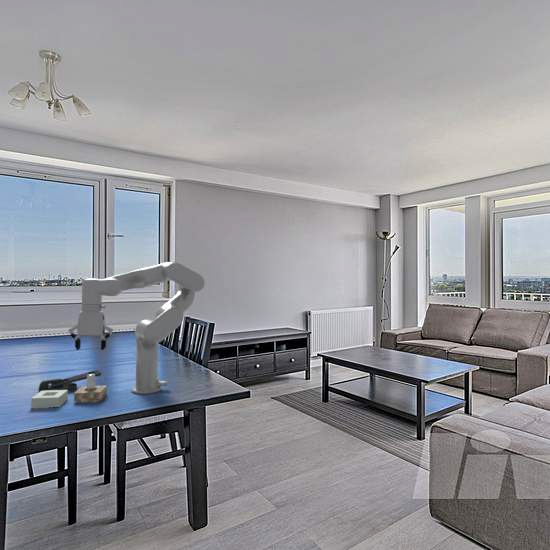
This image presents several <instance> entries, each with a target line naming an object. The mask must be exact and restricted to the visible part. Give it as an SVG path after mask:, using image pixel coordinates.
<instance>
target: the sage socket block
mask: <svg viewBox="0 0 550 550" xmlns="http://www.w3.org/2000/svg"><path fill="white" fill-rule="evenodd" d="M68 398H69V392H68V390H47V391H41V392H39V391H38V392H37V393H36V394H35V395H33V397H31V398H30V409H31V408H33V409H53V408H52V407H59V408H60V407H61V406H63V404H64V403H66V402H67V401H68V400H69V399H68ZM67 399H68V400H67ZM66 400H67V401H66ZM65 401H66V402H65ZM49 407H51V408H49Z"/></svg>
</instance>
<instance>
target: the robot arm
mask: <svg viewBox="0 0 550 550" xmlns="http://www.w3.org/2000/svg"><path fill="white" fill-rule="evenodd" d="M169 281H170V282H171V281H172V282H174V283H176V284H178V291H177V293H176V294H175V295H174V296H173V297H172V298H171V299H170V300H168V301H167V302H166V303H164V304H163V305H162V306H160V307H159V308H158V309H157V310H156V312H155V319H153V320H152V319H143V320H141V321H139V322H138V323H137V325H136V326H135V329H134V338H135V385H134V386H133V387H132V388H131V392H132V393H134V394H139V395H148V394H155V393H157V392H160V391H161V390H162V387H168V386H169V381H166V380H160V378H159V377H158V376H159V343H161V342H163V340H165V339H166V338H167V337H168V336H169V335H171V334H172V333H173V332H174V331H175V330H176V329H178V327H180V326H181V324H182V323H183V321H184V317H185V316H184V313H185V312H186V311H187V310H189V308H190V307H191V306H192V305H193V302H194V299H195V294H196V293H198V292H200V291H202V290H203V289H204V288H205V285H206V284H205V279H204V277H203V276H202V275H201V274H200V273H197V272H196V271H194V270H192V269H191V268H189V267H187V266H185V265H183V264H181V263H179V262H178V261H167V262H161V263H160V264H155V265H151V266H148V267H143V268H140V269H136V270H132V271H130V272H126V273H125V272H124V273H122V274H121V273H120V274H117V275H113V276H110V277H106V278H104V279H100V278H84V279H83V280H82V283H81V311H79V313H78V320H77V325H75V326H74V327H71V328H69V329H68V333H69V334H70V336H71V338H72V339H73V340H74V348H75V351H79V350H80V349H81V344H82V343H81V342H82V341H81V338H82V337H98V336H99V337H100V338H101V341H100V343H101V344H100V350H101V351H103V350H105V349H106V348H107V339H108V338H110V337H111V335H112V333H113V332H114V328H111V327H110V326H107V325H106V320H105V313H104V311H102V310H104V309H105V308H106V306H105V305H103V304H102V297H103V296H105V297H107V296H108V297H116V296H118V295H120V294H121V293H122V292H124V291H128V290H133V289H144V288H149V287H152V286H155V285H159V284H162V283H166V282H169ZM74 331H76V333H75V332H74ZM106 331H107V334H105V333H106Z"/></svg>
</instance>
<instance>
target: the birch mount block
mask: <svg viewBox="0 0 550 550" xmlns="http://www.w3.org/2000/svg"><path fill="white" fill-rule="evenodd" d="M73 395H74V396H73V403H74V402H90V403H101V402H102V401H103V399H105V397H106V396H107V385H95V391H87V385H81V386H80V387H79V388H77V389H76V390H75V391H74V393H73ZM105 395H106V396H105ZM104 396H105V397H104ZM101 400H102V401H101ZM100 401H101V402H100Z"/></svg>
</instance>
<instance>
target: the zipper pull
mask: <svg viewBox="0 0 550 550" xmlns="http://www.w3.org/2000/svg"><path fill="white" fill-rule="evenodd" d="M88 374H95V378H96V377H99V376H102V372H101V370H98V369H94V370H92V371H87V372H85V373H81V374H76V375H74V376H70V377H67V378H64V379H62V378H54V379H53V378H52V379H47V380H42V381H41V382H40V383H39V386H38V393H39V392H41V391H47V390H68V391H71V392H73V391H72V390H75V389H76V390H78V388H77V387H78V384H77V383H76V382H79V381H83V380H87V375H88ZM76 390H75V391H76Z"/></svg>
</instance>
